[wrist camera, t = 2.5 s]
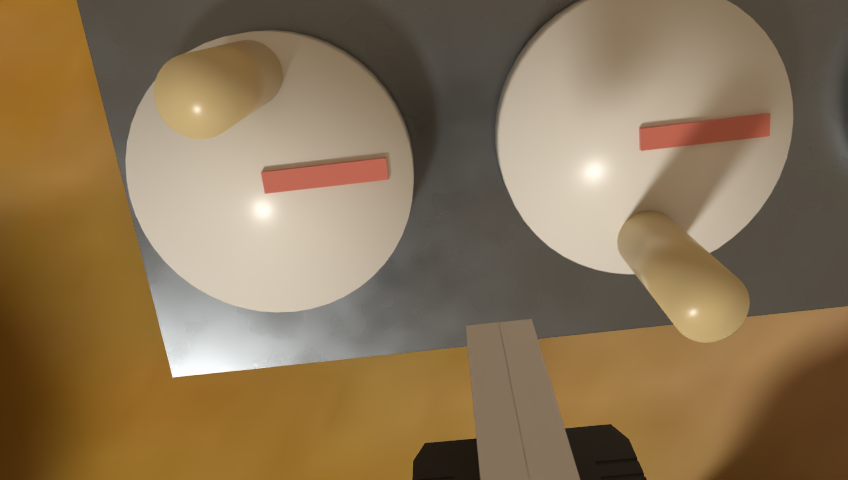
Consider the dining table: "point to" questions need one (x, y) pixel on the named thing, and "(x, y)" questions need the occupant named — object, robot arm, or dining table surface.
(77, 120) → the dining table surface
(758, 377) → the dining table surface
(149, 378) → the dining table surface
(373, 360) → the dining table surface
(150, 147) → the knob
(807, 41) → the base plate
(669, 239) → the knob middle
